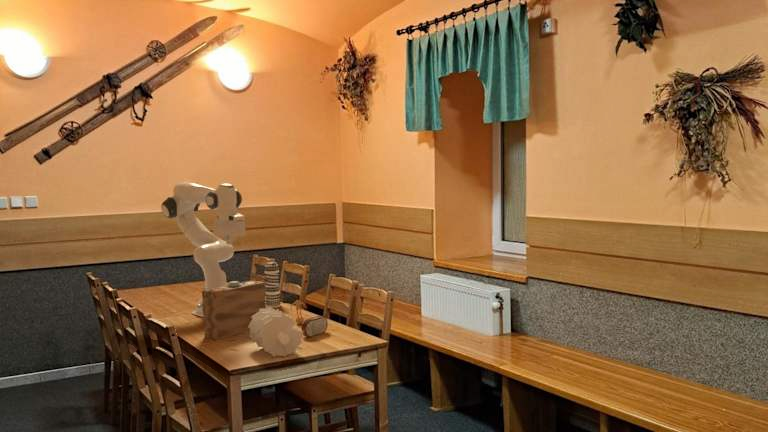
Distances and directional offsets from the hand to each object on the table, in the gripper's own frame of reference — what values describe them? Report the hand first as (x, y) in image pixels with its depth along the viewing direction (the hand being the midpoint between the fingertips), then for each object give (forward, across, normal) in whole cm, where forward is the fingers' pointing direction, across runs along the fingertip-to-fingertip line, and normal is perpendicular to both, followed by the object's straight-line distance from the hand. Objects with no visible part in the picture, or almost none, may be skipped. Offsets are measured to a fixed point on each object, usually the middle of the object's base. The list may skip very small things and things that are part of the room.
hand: (229, 244), depth 340 cm
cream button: (+22, +10, +3) cm, 24 cm away
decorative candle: (+41, -18, +44) cm, 63 cm away
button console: (+41, +10, -7) cm, 43 cm away
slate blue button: (+20, +10, -7) cm, 23 cm away
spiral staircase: (+41, +54, -23) cm, 72 cm away
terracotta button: (+22, +10, -17) cm, 29 cm away
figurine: (+41, +26, +20) cm, 53 cm away
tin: (+41, +49, +7) cm, 65 cm away
